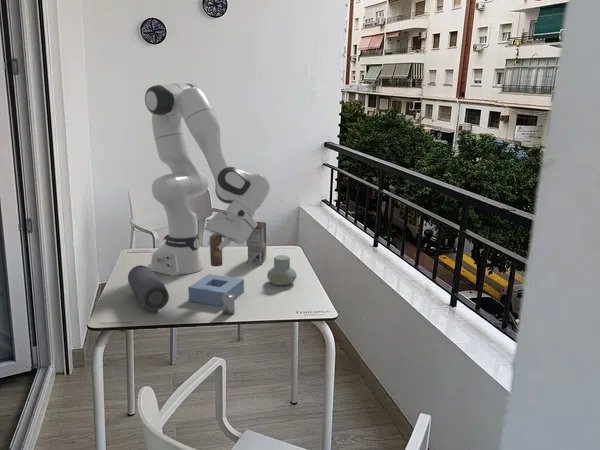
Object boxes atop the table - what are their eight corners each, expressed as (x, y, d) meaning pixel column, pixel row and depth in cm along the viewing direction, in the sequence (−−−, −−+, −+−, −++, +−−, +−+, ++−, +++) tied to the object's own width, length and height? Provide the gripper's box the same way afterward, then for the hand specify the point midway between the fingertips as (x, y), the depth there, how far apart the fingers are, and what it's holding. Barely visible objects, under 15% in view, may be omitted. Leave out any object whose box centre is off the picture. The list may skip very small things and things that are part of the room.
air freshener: (298, 280, 197) (298, 255, 194) (293, 287, 189) (294, 262, 186) (270, 277, 198) (270, 253, 196) (265, 285, 191) (265, 259, 188)
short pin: (219, 314, 165) (219, 297, 163) (225, 309, 169) (225, 292, 167) (231, 316, 164) (230, 298, 162) (236, 311, 167) (236, 294, 166)
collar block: (188, 300, 175) (188, 287, 174) (209, 286, 188) (208, 273, 187) (225, 307, 171) (225, 292, 170) (244, 292, 184) (243, 279, 182)
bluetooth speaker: (171, 311, 167) (170, 282, 164) (142, 316, 162) (140, 287, 160) (153, 288, 186) (152, 261, 184) (127, 292, 181) (125, 265, 179)
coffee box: (252, 257, 223) (251, 221, 219) (266, 258, 222) (266, 221, 218) (247, 263, 214) (246, 226, 210) (262, 264, 213) (262, 227, 209)
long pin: (208, 265, 175) (207, 237, 173) (214, 262, 179) (213, 234, 176) (219, 267, 174) (218, 238, 172) (224, 263, 178) (223, 235, 175)
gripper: (216, 204, 184) (193, 235, 180) (249, 214, 169) (224, 248, 165) (227, 214, 188) (204, 245, 184) (260, 225, 173) (236, 259, 169)
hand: (214, 247), depth 174 cm, fingers closed on long pin, 4 cm apart
